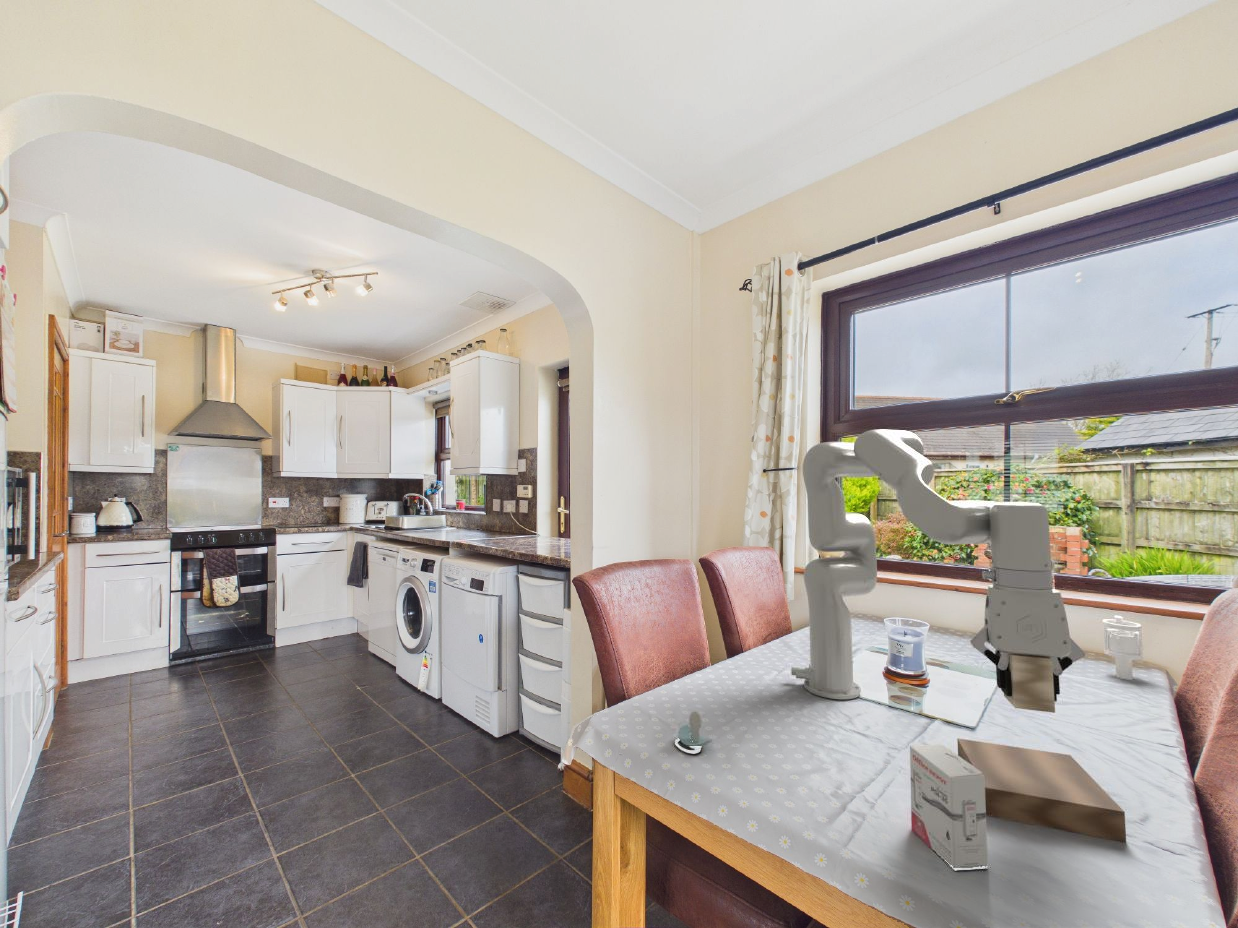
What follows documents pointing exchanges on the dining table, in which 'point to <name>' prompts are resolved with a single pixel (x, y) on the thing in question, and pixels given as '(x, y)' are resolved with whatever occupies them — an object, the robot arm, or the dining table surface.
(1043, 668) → the birch block
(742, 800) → the dining table surface
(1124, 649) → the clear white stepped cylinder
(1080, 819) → the walnut base
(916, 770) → the ink box
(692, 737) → the pacifier
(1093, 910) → the dining table surface
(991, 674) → the dining table surface
